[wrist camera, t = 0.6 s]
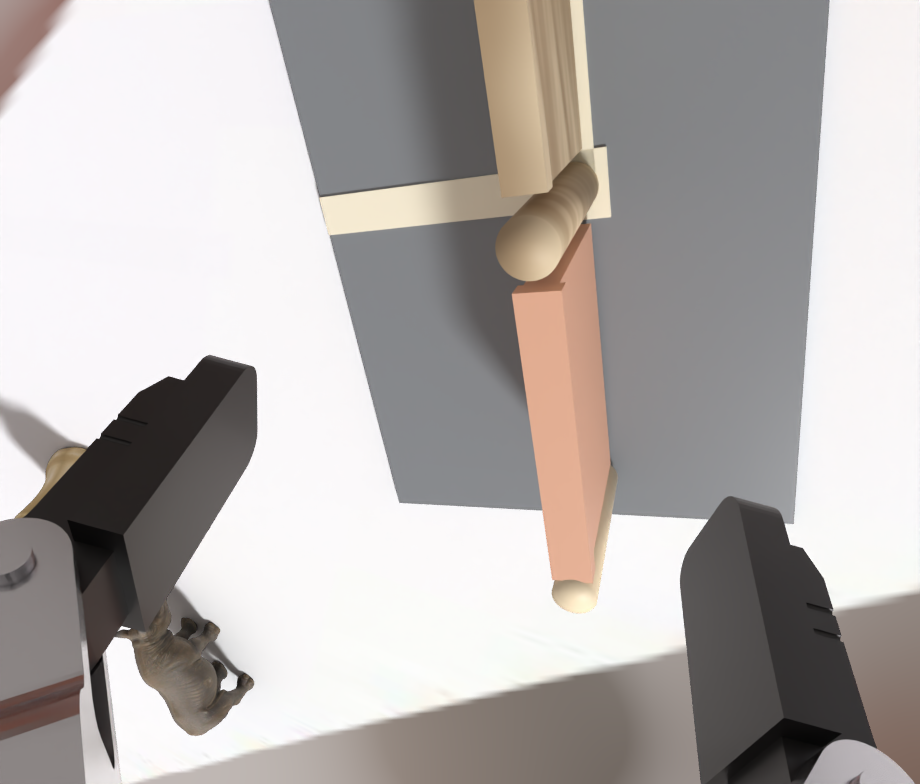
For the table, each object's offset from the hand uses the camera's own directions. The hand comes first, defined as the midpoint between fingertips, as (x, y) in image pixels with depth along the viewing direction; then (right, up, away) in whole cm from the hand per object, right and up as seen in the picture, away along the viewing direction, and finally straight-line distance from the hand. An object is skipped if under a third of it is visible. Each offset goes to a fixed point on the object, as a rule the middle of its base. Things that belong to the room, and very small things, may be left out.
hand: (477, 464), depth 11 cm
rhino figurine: (-21, -18, +42) cm, 50 cm away
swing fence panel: (+6, +2, +19) cm, 20 cm away
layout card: (+4, +7, +18) cm, 20 cm away
